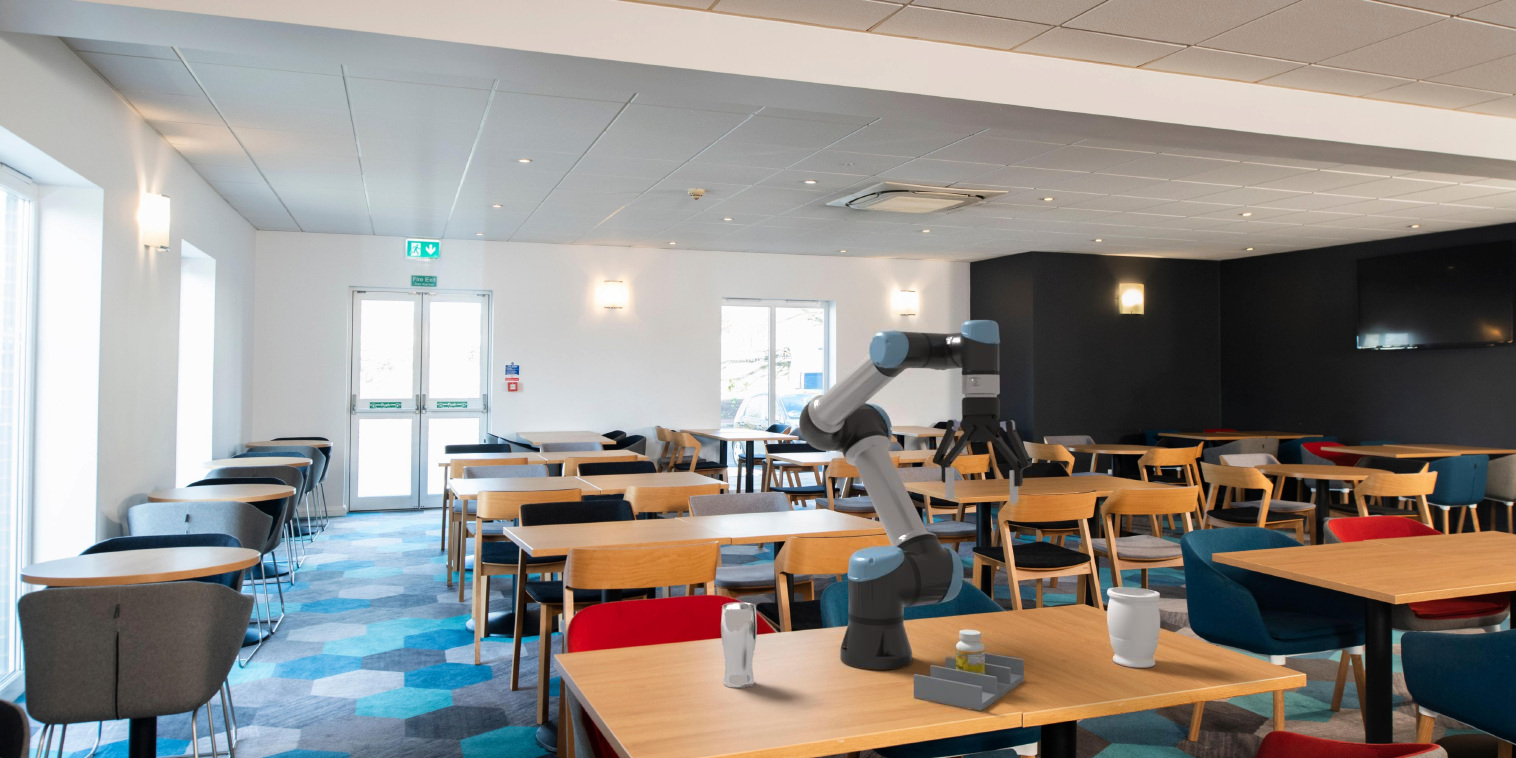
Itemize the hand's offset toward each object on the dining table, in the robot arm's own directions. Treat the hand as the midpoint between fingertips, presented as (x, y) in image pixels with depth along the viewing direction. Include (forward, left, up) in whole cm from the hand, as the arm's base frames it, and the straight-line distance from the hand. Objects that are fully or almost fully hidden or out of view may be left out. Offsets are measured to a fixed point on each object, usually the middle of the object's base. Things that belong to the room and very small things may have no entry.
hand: (981, 501), depth 185 cm
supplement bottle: (+2, -11, -34) cm, 35 cm away
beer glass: (-36, -34, -35) cm, 61 cm away
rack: (+2, -11, -35) cm, 36 cm away
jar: (+23, +26, -35) cm, 49 cm away
